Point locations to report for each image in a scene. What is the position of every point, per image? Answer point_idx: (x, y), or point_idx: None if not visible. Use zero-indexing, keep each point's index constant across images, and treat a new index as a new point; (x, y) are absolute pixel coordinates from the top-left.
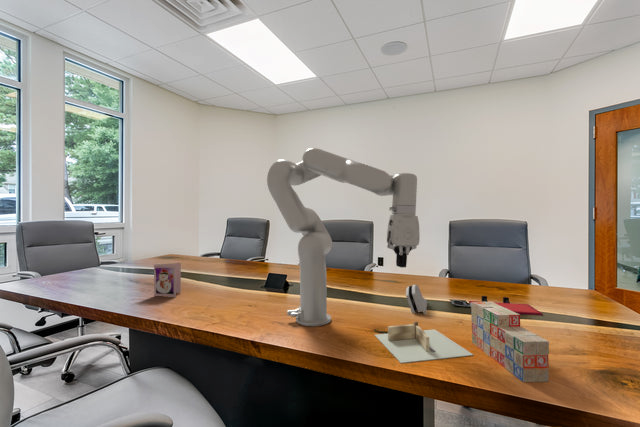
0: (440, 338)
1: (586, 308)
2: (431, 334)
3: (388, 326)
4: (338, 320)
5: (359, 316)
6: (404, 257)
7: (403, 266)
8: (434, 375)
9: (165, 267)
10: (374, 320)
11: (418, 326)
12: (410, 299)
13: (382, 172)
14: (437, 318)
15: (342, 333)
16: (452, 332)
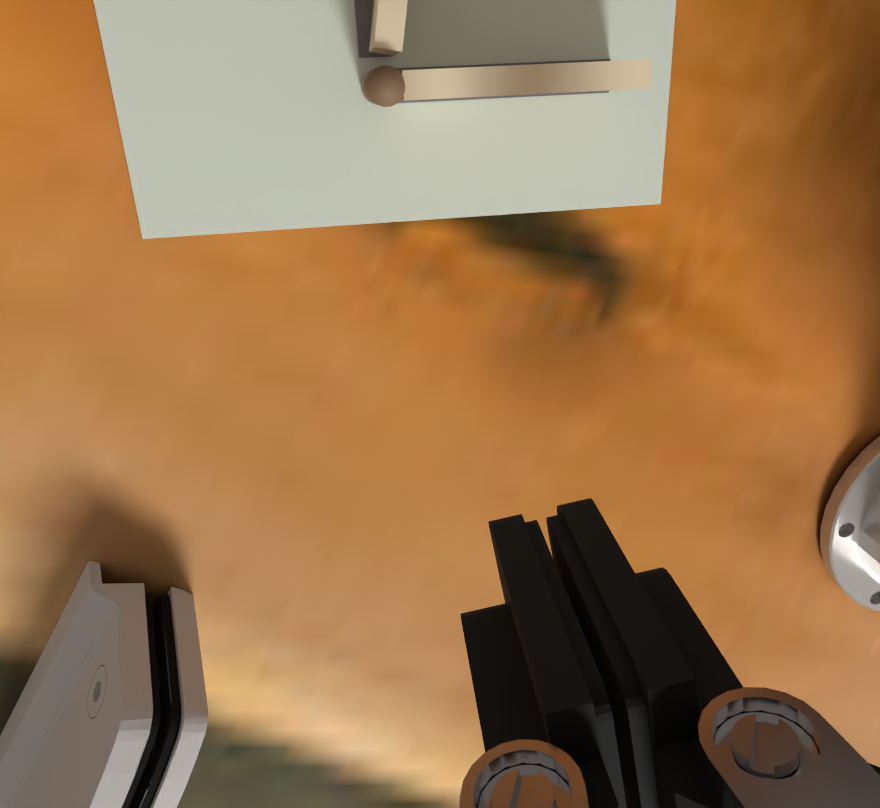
0: (173, 39)
1: None
2: (217, 136)
3: (647, 82)
4: (777, 494)
5: None
6: (593, 664)
7: (560, 509)
8: None
9: None
10: (539, 474)
11: (382, 31)
12: (178, 686)
13: None
14: (17, 473)
15: (849, 269)
16: (3, 165)
